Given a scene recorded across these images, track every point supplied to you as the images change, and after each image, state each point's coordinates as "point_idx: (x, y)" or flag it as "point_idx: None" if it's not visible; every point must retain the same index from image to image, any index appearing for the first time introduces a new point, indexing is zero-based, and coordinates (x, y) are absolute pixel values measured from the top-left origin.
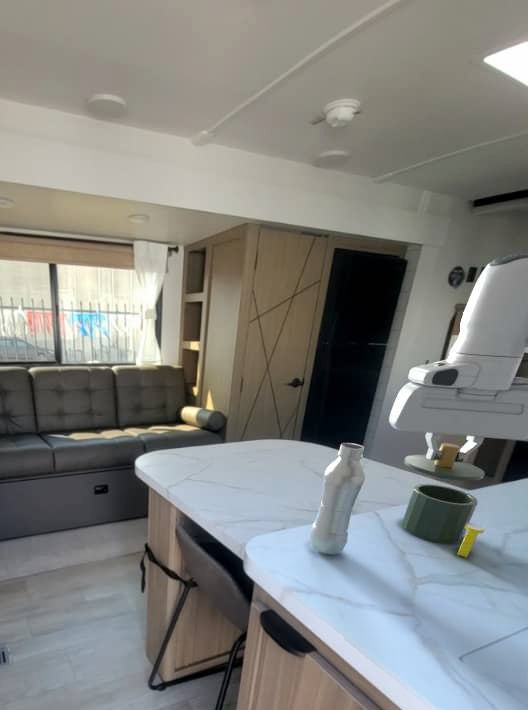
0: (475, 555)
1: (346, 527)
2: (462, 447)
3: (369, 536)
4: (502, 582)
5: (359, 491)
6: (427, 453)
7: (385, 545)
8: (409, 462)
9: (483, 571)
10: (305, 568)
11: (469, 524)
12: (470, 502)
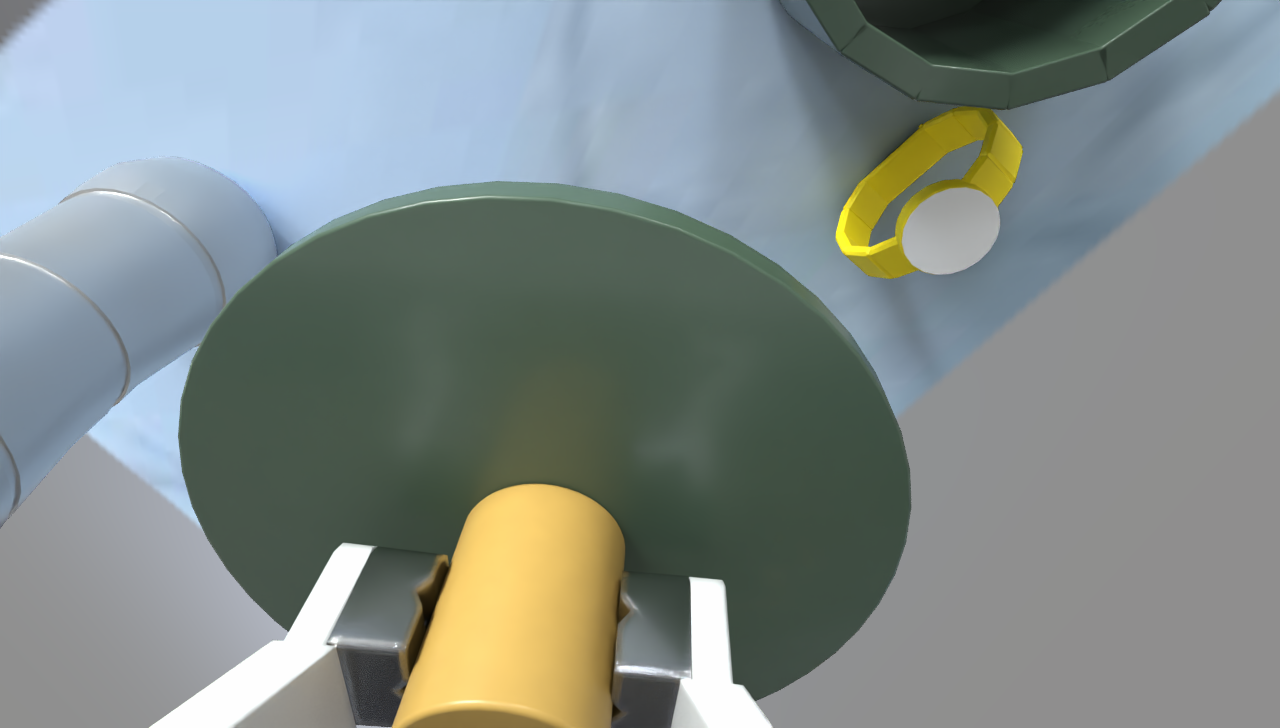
0: (958, 170)
1: (189, 348)
2: (696, 717)
3: (460, 33)
4: (881, 374)
5: (45, 466)
6: (326, 577)
7: (520, 135)
8: (212, 518)
9: (869, 309)
10: (158, 373)
11: (936, 207)
12: (1134, 25)
